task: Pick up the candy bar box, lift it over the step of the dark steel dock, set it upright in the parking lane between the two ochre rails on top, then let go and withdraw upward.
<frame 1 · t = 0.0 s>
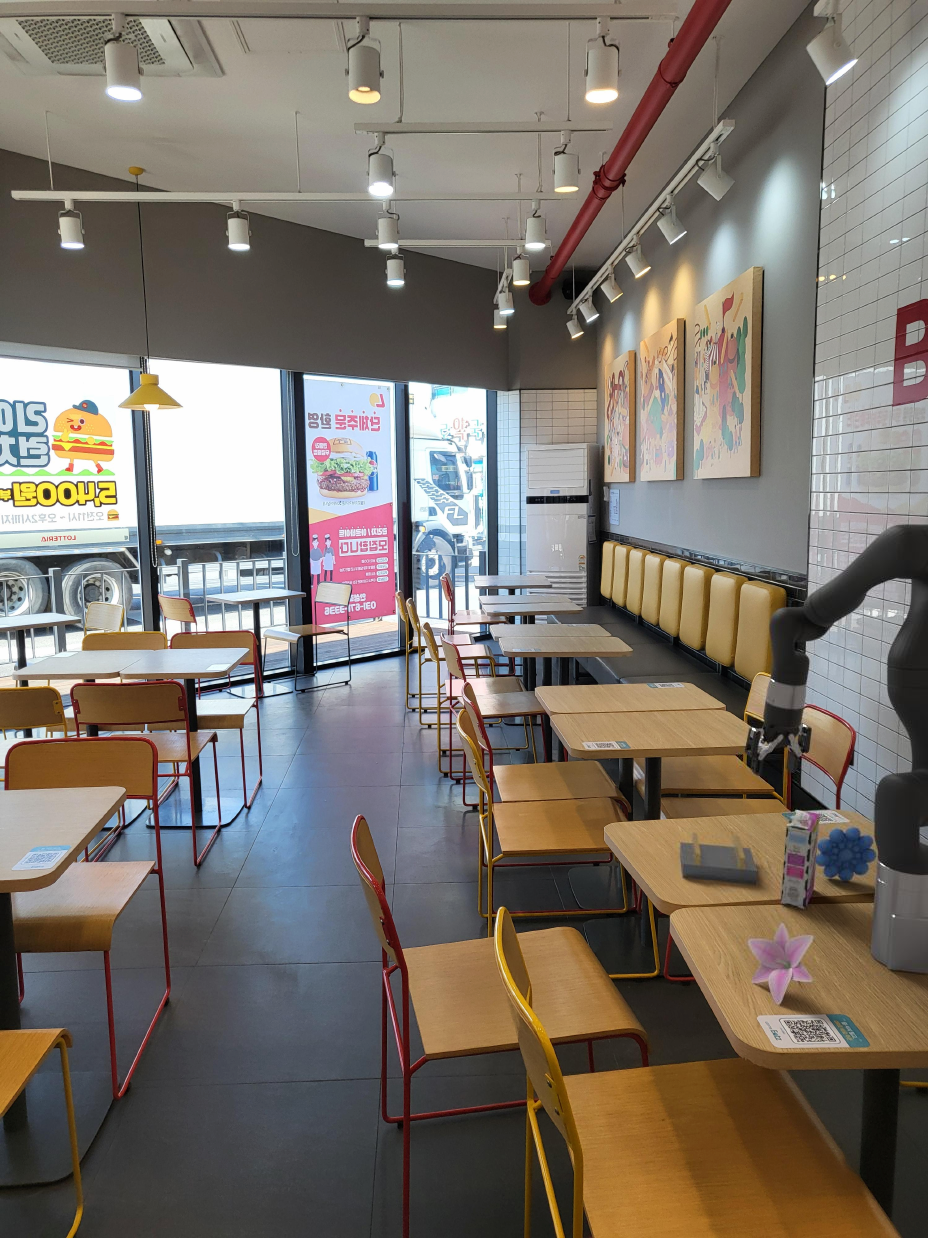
hand: (773, 772, 175), 22 cm above the table, tool pointing down, fingers open, 8 cm apart
dock: (716, 869, 179), on the table
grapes: (843, 880, 175), on the table
candy bar box: (798, 898, 167), on the table
lily: (779, 988, 134), on the table
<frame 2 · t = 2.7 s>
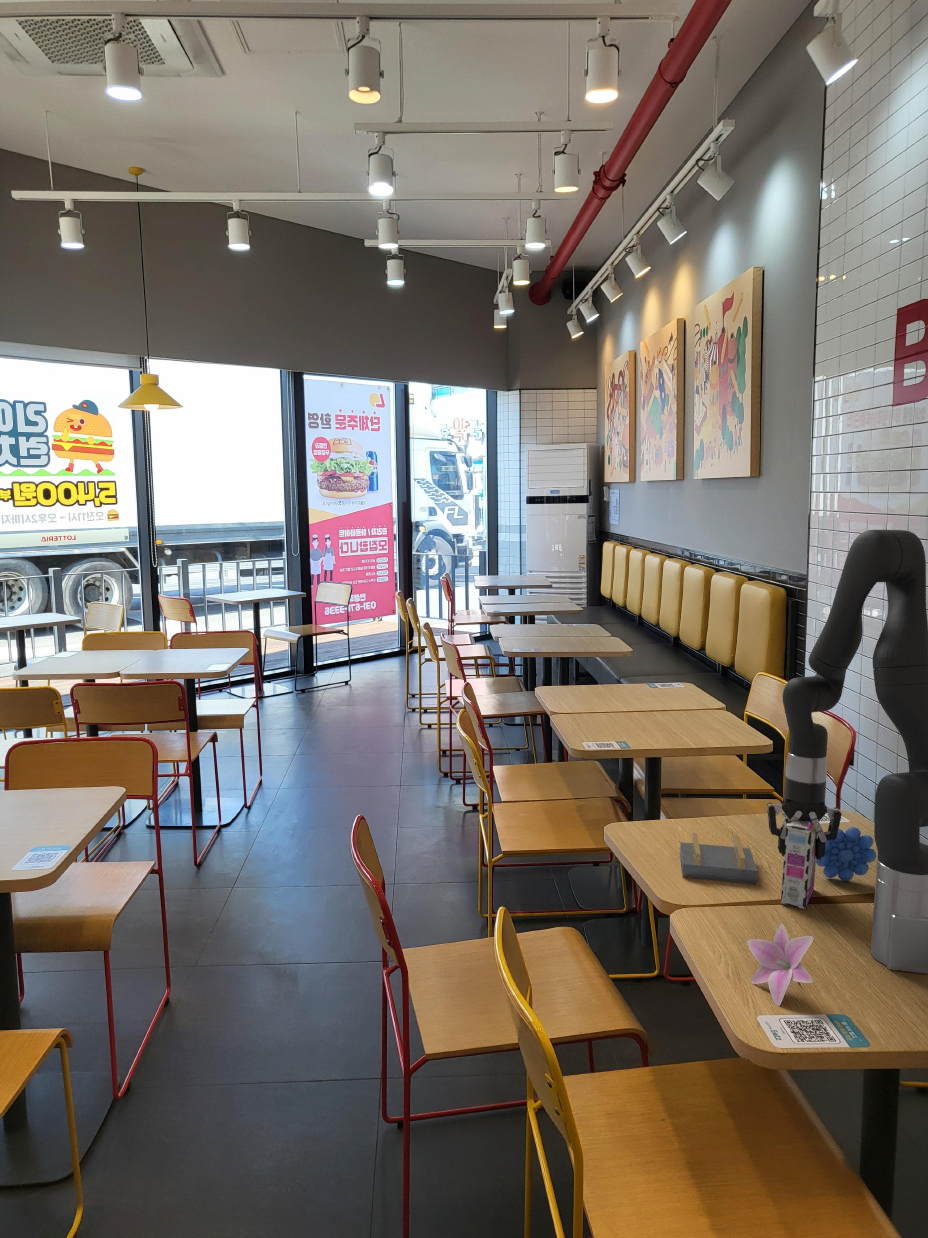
hand: (800, 856, 166), 9 cm above the table, tool pointing down, fingers closed on candy bar box, 6 cm apart
candy bar box: (798, 898, 167), on the table, touching gripper
everything else where it was.
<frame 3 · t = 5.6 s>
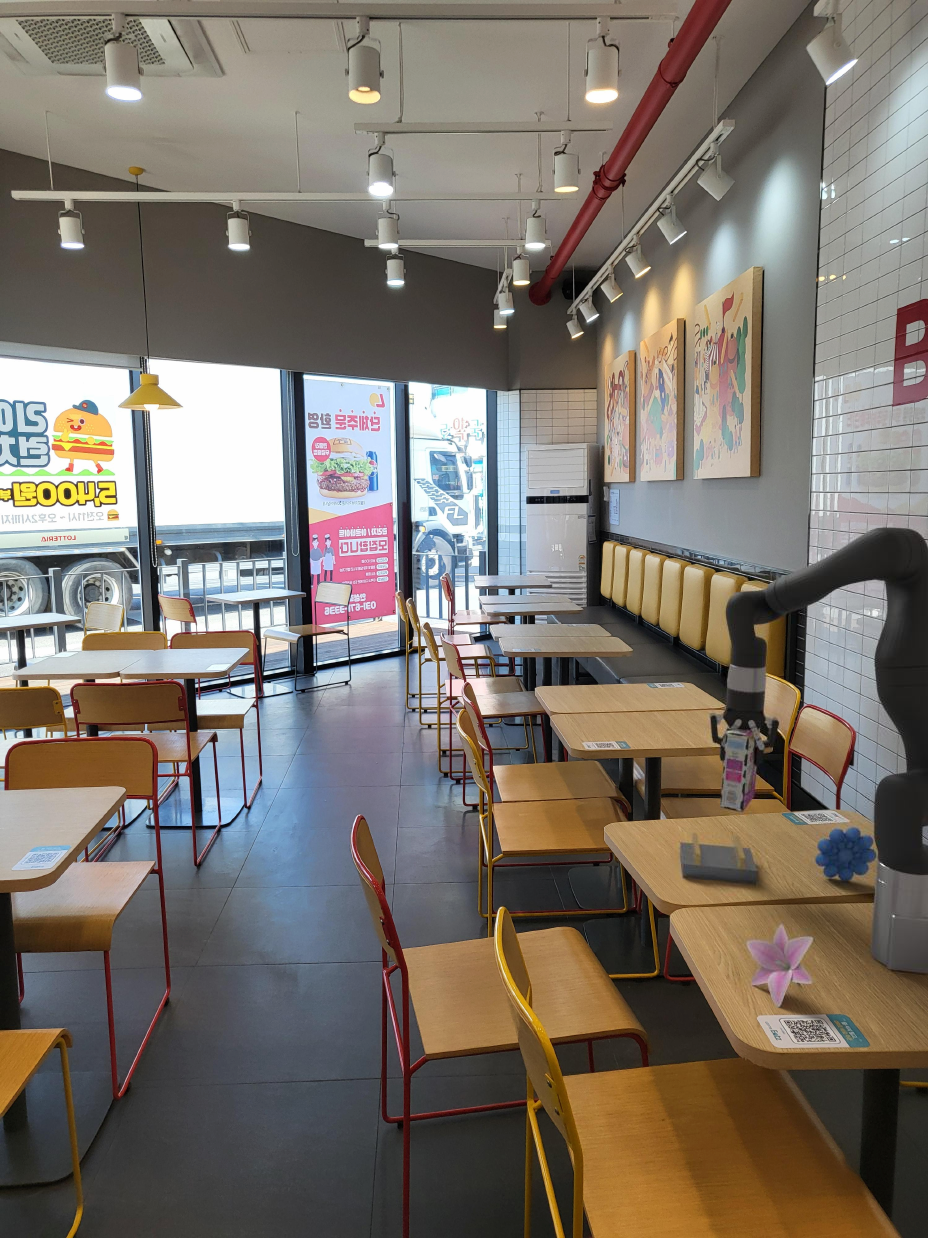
hand: (740, 763, 174), 24 cm above the table, tool pointing down, fingers closed on candy bar box, 6 cm apart
candy bar box: (738, 803, 175), point 16 cm above the table, touching gripper
everything else where it was.
when the fingers open (13 cm above the table, at t = 8.1 s): candy bar box drops 1 cm, resting on dock.
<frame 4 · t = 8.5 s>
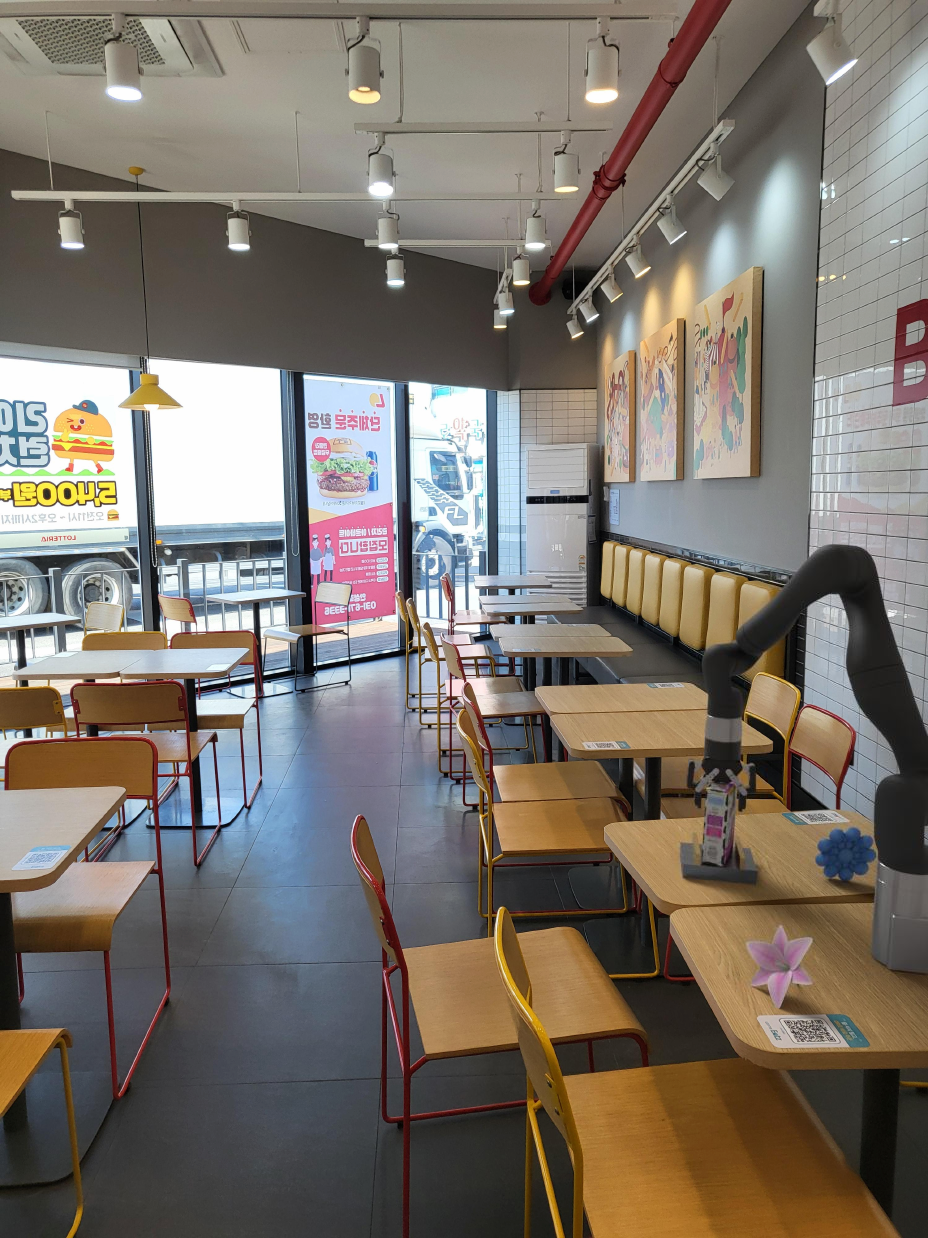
hand: (719, 809, 178), 14 cm above the table, tool pointing down, fingers open, 8 cm apart
candy bar box: (718, 857, 179), point 3 cm above the table, touching dock
everything else where it was.
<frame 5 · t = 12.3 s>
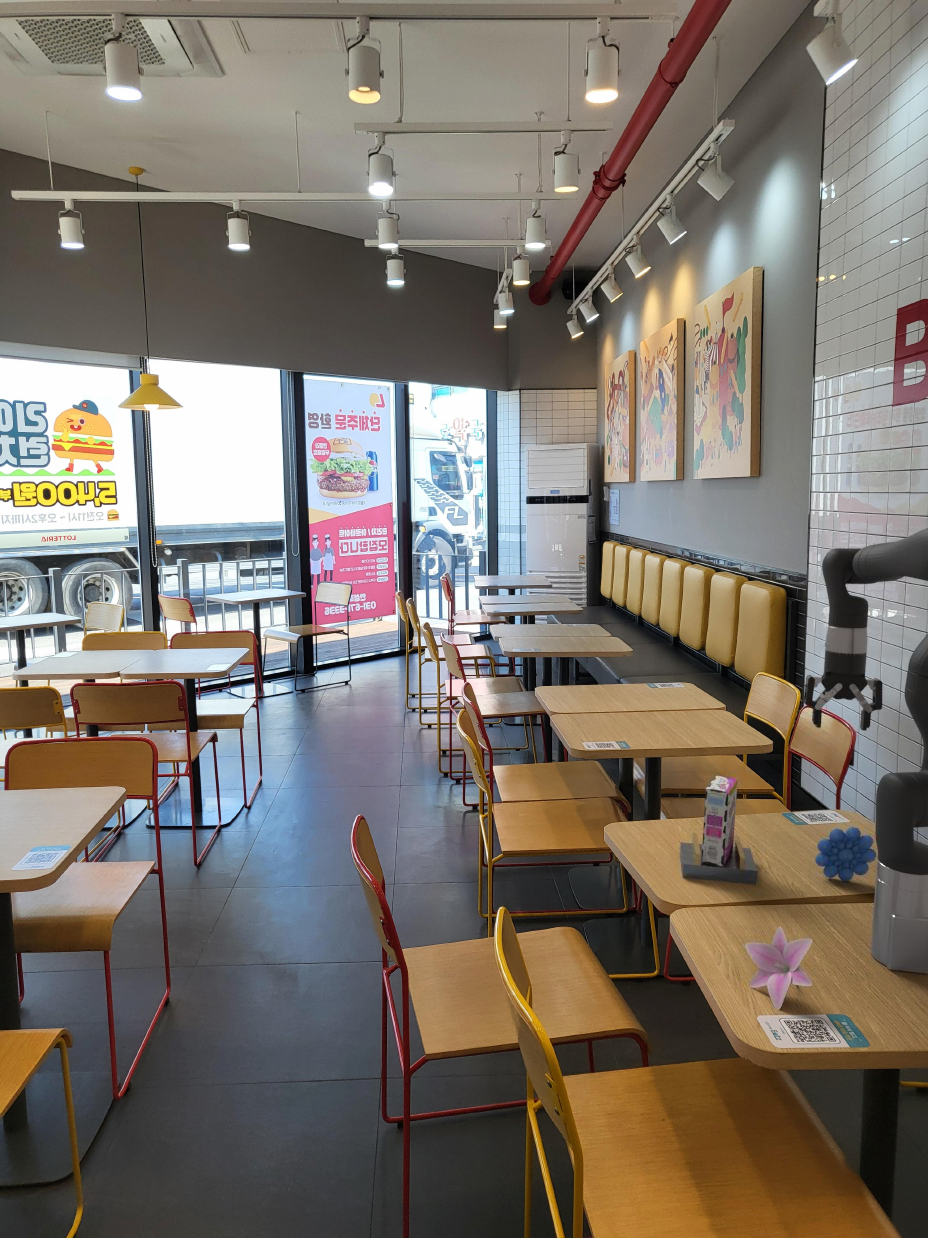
hand: (840, 728, 166), 34 cm above the table, tool pointing down, fingers open, 8 cm apart
at the end: candy bar box 0.2 cm from the target spot, point 2.8 cm above the table; candy bar box tilted 0°; the gripper is holding nothing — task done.
